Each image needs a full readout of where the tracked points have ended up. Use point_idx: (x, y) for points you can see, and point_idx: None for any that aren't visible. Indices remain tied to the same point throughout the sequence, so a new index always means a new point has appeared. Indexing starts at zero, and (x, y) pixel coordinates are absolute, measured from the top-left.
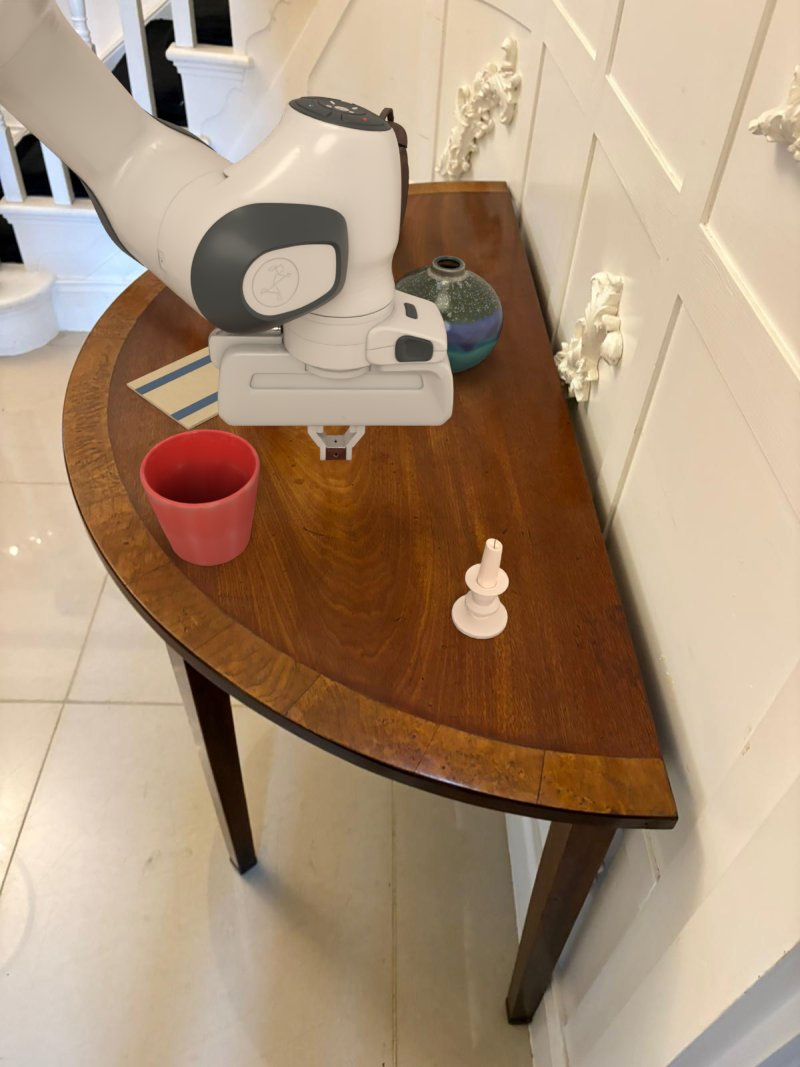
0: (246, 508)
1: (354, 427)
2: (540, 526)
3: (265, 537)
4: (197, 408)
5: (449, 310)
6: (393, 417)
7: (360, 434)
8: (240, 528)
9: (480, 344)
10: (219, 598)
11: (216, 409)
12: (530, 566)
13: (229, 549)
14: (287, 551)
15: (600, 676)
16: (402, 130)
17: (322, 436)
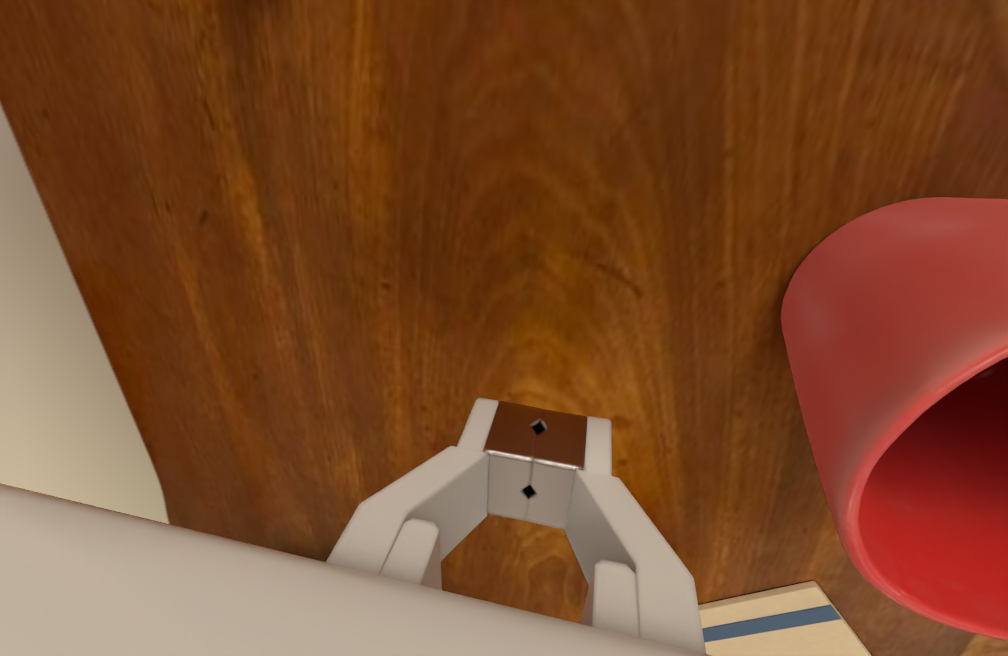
0: (920, 288)
1: (398, 555)
2: (137, 222)
3: (744, 280)
4: (779, 618)
5: None
6: (55, 588)
7: (386, 501)
8: (904, 247)
9: None
10: (971, 57)
11: (742, 607)
12: (134, 98)
13: (910, 212)
14: (700, 225)
15: None
16: None
17: (592, 531)
